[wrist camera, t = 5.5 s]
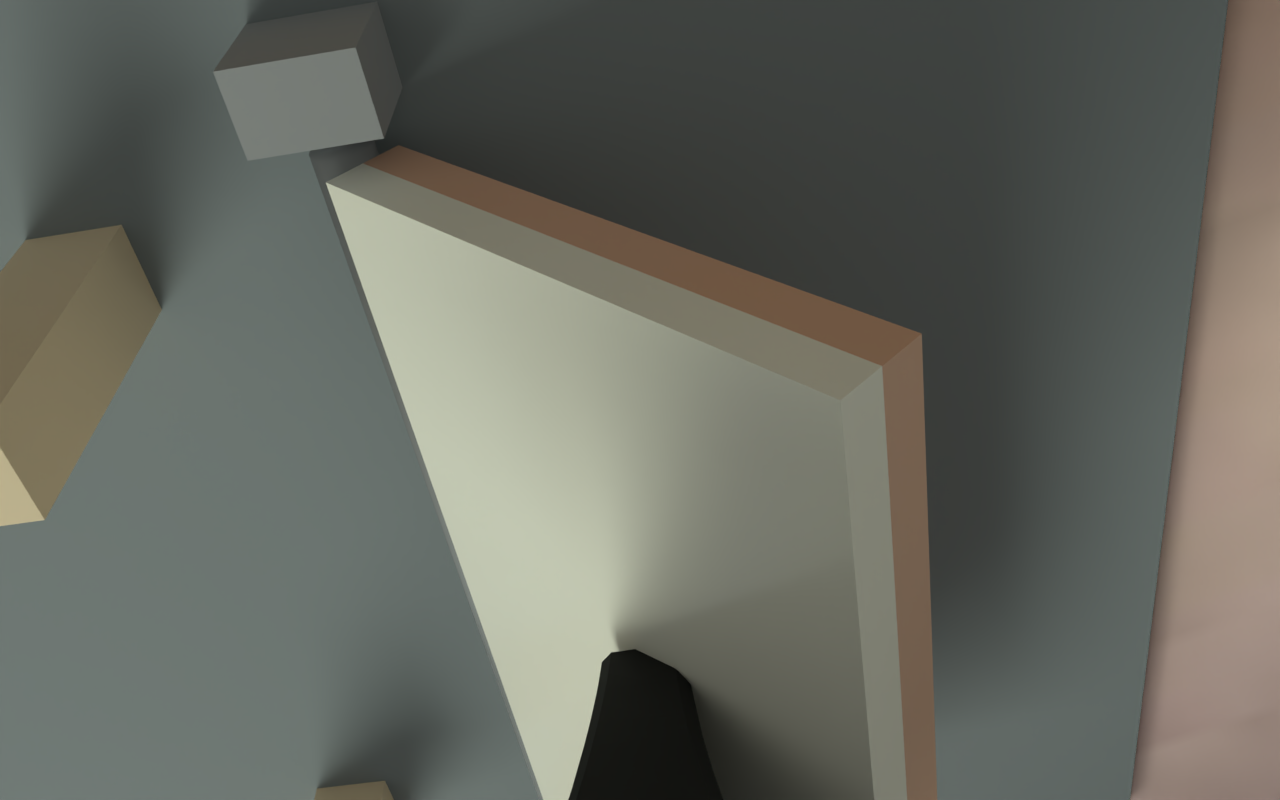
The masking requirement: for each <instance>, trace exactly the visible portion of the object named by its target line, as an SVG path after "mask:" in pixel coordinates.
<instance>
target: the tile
mask: <svg viewBox="0 0 1280 800" xmlns="http://www.w3.org/2000/svg"><path fill="white" fill-rule="evenodd" d="M309 157H310V160H311V163H312V165H313V168H314V171H315V174H316V177H317V179H318V182H319V185H320V188H321V191H322V193H323V196H324V199H325V202H326V205H327V207H328V210H329V213H330V216H331V219H332V221H333V224H334V227H335V230H336V233H337V235H338V238H339V241H340V244H341V247H342V250H343V252H344V255H345V258H346V261H347V264H348V266H349V269H350V272H351V275H352V278H353V280H354V283H355V286H356V289H357V292H358V294H359V297H360V300H361V303H362V306H363V308H364V311H365V314H366V317H367V320H368V322H369V325H370V328H371V331H372V334H373V336H374V339H375V342H376V345H377V348H378V351H379V353H380V356H381V359H382V362H383V365H384V367H385V370H386V373H387V376H388V379H389V381H390V384H391V387H392V390H393V393H394V395H395V398H396V401H397V404H398V407H399V409H400V412H401V415H402V418H403V421H404V423H405V426H406V429H407V432H408V435H409V437H410V440H411V443H412V446H413V449H414V452H415V454H416V457H417V460H418V463H419V466H420V468H421V471H422V474H423V477H424V480H425V482H426V485H427V488H428V491H429V494H430V496H431V499H432V502H433V505H434V508H435V510H436V513H437V516H438V519H439V522H440V524H441V527H442V530H443V533H444V536H445V538H446V541H447V544H448V547H449V550H450V553H451V555H452V558H453V561H454V564H455V567H456V569H457V572H458V575H459V578H460V581H461V583H462V586H463V589H464V592H465V595H466V597H467V600H468V603H469V606H470V609H471V611H472V614H473V617H474V620H475V623H476V625H477V628H478V631H479V634H480V637H481V639H482V642H483V645H484V648H485V651H486V654H487V656H488V659H489V662H490V665H491V668H492V670H493V673H494V676H495V679H496V682H497V684H498V687H499V690H500V693H501V696H502V698H503V701H504V704H505V707H506V710H507V712H508V715H509V718H510V721H511V724H512V726H513V729H514V732H515V735H516V738H517V740H518V743H519V746H520V749H521V752H522V755H523V757H524V760H525V763H526V766H527V769H528V771H529V774H530V777H531V780H532V783H533V785H534V788H535V791H536V794H537V797H538V799H539V800H568V799H569V796H570V793H571V790H572V786H573V783H574V779H575V776H576V772H577V769H578V765H579V762H580V758H581V755H582V751H583V748H584V744H585V740H586V736H587V733H588V729H589V724H590V720H591V716H592V712H593V707H594V702H595V698H596V693H597V688H598V683H599V677H600V670H601V664H602V661H603V660H604V659H605V658H606V657H607V656H608V655H609V654H610V653H611V652H618V651H625V650H632V649H636V650H638V651H640V652H642V653H645V654H647V655H649V656H651V657H653V658H655V659H657V660H659V661H661V662H663V663H665V664H667V665H669V666H671V667H673V668H675V669H677V670H678V671H679V672H680V673H681V675H682V676H683V677H684V678H685V679H686V680H687V681H688V682H689V683H690V684H691V687H692V692H693V696H694V700H695V705H696V709H697V714H698V718H699V723H700V727H701V731H702V736H703V739H704V742H705V746H706V749H707V752H708V755H709V759H710V762H711V765H712V769H713V772H714V775H715V777H716V780H717V783H718V786H719V789H720V792H721V794H722V797H723V800H937V776H936V746H935V716H934V686H933V656H932V626H931V596H930V566H929V536H928V506H927V476H926V446H925V416H924V386H923V356H922V334H921V333H919V332H916V331H913V330H910V329H908V328H905V327H902V326H899V325H896V324H894V323H891V322H888V321H885V320H883V319H880V318H877V317H874V316H872V315H869V314H866V313H863V312H860V311H858V310H855V309H852V308H849V307H847V306H844V305H841V304H838V303H835V302H833V301H830V300H827V299H824V298H822V297H819V296H816V295H813V294H810V293H808V292H805V291H802V290H799V289H797V288H794V287H791V286H788V285H785V284H783V283H780V282H777V281H774V280H772V279H769V278H766V277H763V276H760V275H758V274H755V273H752V272H749V271H747V270H744V269H741V268H738V267H736V266H733V265H730V264H727V263H724V262H722V261H719V260H716V259H713V258H711V257H708V256H705V255H702V254H699V253H697V252H694V251H691V250H688V249H686V248H683V247H680V246H677V245H674V244H672V243H669V242H666V241H663V240H661V239H658V238H655V237H652V236H649V235H647V234H644V233H641V232H638V231H636V230H633V229H630V228H627V227H624V226H622V225H619V224H616V223H613V222H611V221H608V220H605V219H602V218H600V217H597V216H594V215H591V214H588V213H586V212H583V211H580V210H577V209H575V208H572V207H569V206H566V205H563V204H561V203H558V202H555V201H552V200H550V199H547V198H544V197H541V196H538V195H536V194H533V193H530V192H527V191H525V190H522V189H519V188H516V187H513V186H511V185H508V184H505V183H502V182H500V181H497V180H494V179H491V178H488V177H486V176H483V175H480V174H477V173H475V172H472V171H469V170H466V169H464V168H461V167H458V166H455V165H452V164H450V163H447V162H444V161H441V160H439V159H436V158H433V157H430V156H427V155H425V154H422V153H419V152H416V151H414V150H411V149H408V148H405V147H402V146H400V145H398V146H396V147H394V148H392V149H390V150H388V151H386V152H384V153H382V154H380V155H379V153H378V150H377V147H376V143H375V140H372V141H366V142H360V143H354V144H348V145H342V146H335V147H329V148H323V149H317V150H311V151H310V152H309Z"/></svg>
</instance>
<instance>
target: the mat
mask: <svg viewBox="0 0 1280 800" xmlns="http://www.w3.org/2000/svg"><path fill="white" fill-rule="evenodd" d="M1227 6H1228V0H0V800H539V799H538V797H537V794H536V791H535V788H534V785H533V783H532V780H531V777H530V774H529V771H528V769H527V766H526V763H525V760H524V757H523V755H522V752H521V749H520V746H519V743H518V740H517V738H516V735H515V732H514V729H513V726H512V724H511V721H510V718H509V715H508V712H507V710H506V707H505V704H504V701H503V698H502V696H501V693H500V690H499V687H498V684H497V682H496V679H495V676H494V673H493V670H492V668H491V665H490V662H489V659H488V656H487V654H486V651H485V648H484V645H483V642H482V639H481V637H480V634H479V631H478V628H477V625H476V623H475V620H474V617H473V614H472V611H471V609H470V606H469V603H468V600H467V597H466V595H465V592H464V589H463V586H462V583H461V581H460V578H459V575H458V572H457V569H456V567H455V564H454V561H453V558H452V555H451V553H450V550H449V547H448V544H447V541H446V538H445V536H444V533H443V530H442V527H441V524H440V522H439V519H438V516H437V513H436V510H435V508H434V505H433V502H432V499H431V496H430V494H429V491H428V488H427V485H426V482H425V480H424V477H423V474H422V471H421V468H420V466H419V463H418V460H417V457H416V454H415V452H414V449H413V446H412V443H411V440H410V437H409V435H408V432H407V429H406V426H405V423H404V421H403V418H402V415H401V412H400V409H399V407H398V404H397V401H396V398H395V395H394V393H393V390H392V387H391V384H390V381H389V379H388V376H387V373H386V370H385V367H384V365H383V362H382V359H381V356H380V353H379V351H378V348H377V345H376V342H375V339H374V336H373V334H372V331H371V328H370V325H369V322H368V320H367V317H366V314H365V311H364V308H363V306H362V303H361V300H360V297H359V294H358V292H357V289H356V286H355V283H354V280H353V278H352V275H351V272H350V269H349V266H348V264H347V261H346V258H345V255H344V252H343V250H342V247H341V244H340V241H339V238H338V235H337V233H336V230H335V227H334V224H333V221H332V219H331V216H330V213H329V210H328V207H327V205H326V202H325V199H324V196H323V193H322V191H321V188H320V185H319V182H318V179H317V177H316V174H315V171H314V168H313V165H312V163H311V160H310V157H309V152H310V151H311V150H317V149H323V148H329V147H335V146H342V145H348V144H354V143H360V142H366V141H372V140H375V143H376V147H377V150H378V153H379V155H380V154H382V153H384V152H386V151H388V150H390V149H392V148H394V147H396V146H398V145H400V146H402V147H405V148H408V149H411V150H414V151H416V152H419V153H422V154H425V155H427V156H430V157H433V158H436V159H439V160H441V161H444V162H447V163H450V164H452V165H455V166H458V167H461V168H464V169H466V170H469V171H472V172H475V173H477V174H480V175H483V176H486V177H488V178H491V179H494V180H497V181H500V182H502V183H505V184H508V185H511V186H513V187H516V188H519V189H522V190H525V191H527V192H530V193H533V194H536V195H538V196H541V197H544V198H547V199H550V200H552V201H555V202H558V203H561V204H563V205H566V206H569V207H572V208H575V209H577V210H580V211H583V212H586V213H588V214H591V215H594V216H597V217H600V218H602V219H605V220H608V221H611V222H613V223H616V224H619V225H622V226H624V227H627V228H630V229H633V230H636V231H638V232H641V233H644V234H647V235H649V236H652V237H655V238H658V239H661V240H663V241H666V242H669V243H672V244H674V245H677V246H680V247H683V248H686V249H688V250H691V251H694V252H697V253H699V254H702V255H705V256H708V257H711V258H713V259H716V260H719V261H722V262H724V263H727V264H730V265H733V266H736V267H738V268H741V269H744V270H747V271H749V272H752V273H755V274H758V275H760V276H763V277H766V278H769V279H772V280H774V281H777V282H780V283H783V284H785V285H788V286H791V287H794V288H797V289H799V290H802V291H805V292H808V293H810V294H813V295H816V296H819V297H822V298H824V299H827V300H830V301H833V302H835V303H838V304H841V305H844V306H847V307H849V308H852V309H855V310H858V311H860V312H863V313H866V314H869V315H872V316H874V317H877V318H880V319H883V320H885V321H888V322H891V323H894V324H896V325H899V326H902V327H905V328H908V329H910V330H913V331H916V332H919V333H921V334H922V356H923V386H924V416H925V446H926V476H927V506H928V536H929V566H930V596H931V626H932V656H933V686H934V716H935V746H936V776H937V800H1130V796H1131V787H1132V779H1133V771H1134V763H1135V755H1136V747H1137V739H1138V731H1139V722H1140V714H1141V706H1142V698H1143V690H1144V682H1145V674H1146V665H1147V657H1148V649H1149V641H1150V633H1151V625H1152V617H1153V608H1154V600H1155V592H1156V584H1157V576H1158V568H1159V560H1160V551H1161V543H1162V535H1163V527H1164V519H1165V511H1166V503H1167V494H1168V486H1169V478H1170V470H1171V462H1172V454H1173V446H1174V438H1175V429H1176V421H1177V413H1178V405H1179V397H1180V389H1181V381H1182V372H1183V364H1184V356H1185V348H1186V340H1187V332H1188V324H1189V315H1190V307H1191V299H1192V291H1193V283H1194V275H1195V267H1196V258H1197V250H1198V242H1199V234H1200V226H1201V218H1202V210H1203V202H1204V193H1205V185H1206V177H1207V169H1208V161H1209V153H1210V145H1211V136H1212V128H1213V120H1214V112H1215V104H1216V96H1217V88H1218V79H1219V71H1220V63H1221V55H1222V47H1223V39H1224V31H1225V22H1226V14H1227Z"/></svg>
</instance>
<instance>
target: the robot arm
mask: <svg viewBox="0 0 1280 800" xmlns="http://www.w3.org/2000/svg"><path fill="white" fill-rule="evenodd" d="M568 800H723V797H722V794H721V792H720V789H719V786H718V783H717V780H716V777H715V775H714V772H713V769H712V765H711V762H710V759H709V755H708V752H707V749H706V746H705V742H704V739H703V736H702V731H701V727H700V723H699V718H698V714H697V709H696V705H695V700H694V696H693V692H692V687H691V684H690V683H689V682H688V681H687V680H686V679H685V678H684V677H683V676H682V675H681V673H680V672H679V671H678V670H677V669H675V668H673V667H671V666H669V665H667V664H665V663H663V662H661V661H659V660H657V659H655V658H653V657H651V656H649V655H647V654H645V653H642V652H640V651H638V650H636V649H632V650H625V651H618V652H611V653H610V654H609V655H608V656H607V657H606V658H605V659H604V660H603V661H602V664H601V670H600V677H599V683H598V688H597V693H596V698H595V702H594V707H593V712H592V716H591V720H590V724H589V729H588V733H587V736H586V740H585V744H584V748H583V751H582V755H581V758H580V762H579V765H578V769H577V772H576V776H575V779H574V783H573V786H572V790H571V793H570V796H569V799H568Z"/></svg>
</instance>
